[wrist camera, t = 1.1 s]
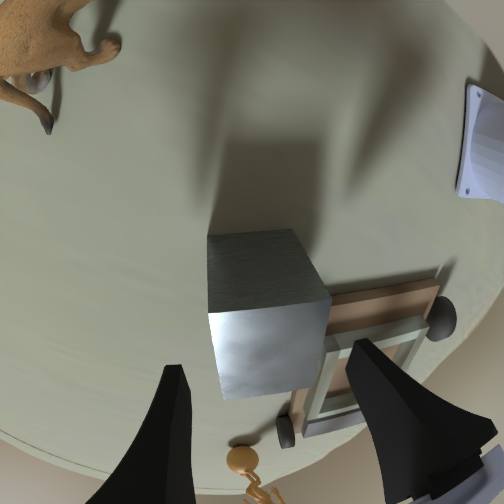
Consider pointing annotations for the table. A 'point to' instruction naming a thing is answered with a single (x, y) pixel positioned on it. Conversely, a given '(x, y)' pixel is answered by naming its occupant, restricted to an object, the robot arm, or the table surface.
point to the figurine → (244, 464)
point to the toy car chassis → (380, 334)
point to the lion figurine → (42, 49)
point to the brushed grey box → (264, 312)
